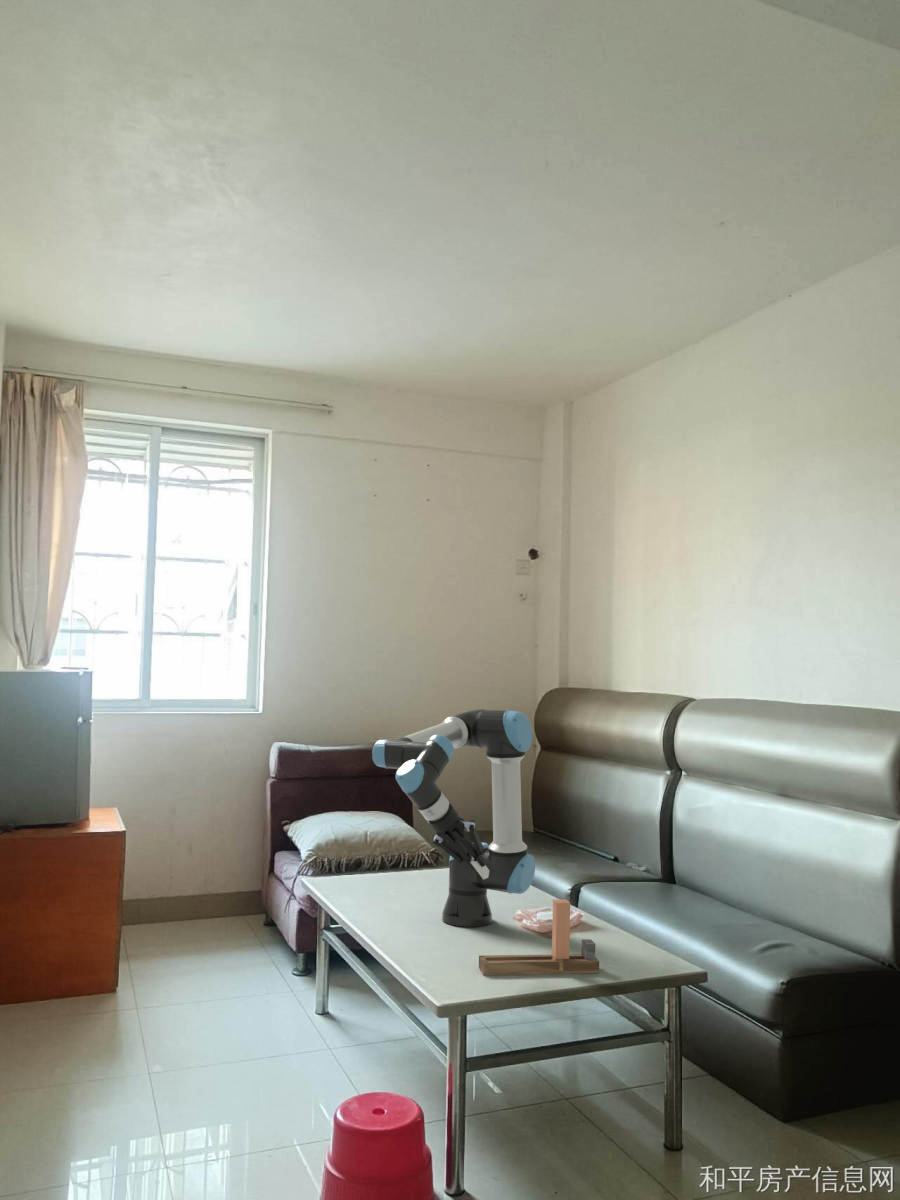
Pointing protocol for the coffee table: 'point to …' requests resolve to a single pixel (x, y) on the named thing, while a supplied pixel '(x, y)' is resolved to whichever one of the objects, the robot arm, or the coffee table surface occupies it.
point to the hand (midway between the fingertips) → (486, 874)
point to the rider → (561, 929)
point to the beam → (541, 963)
